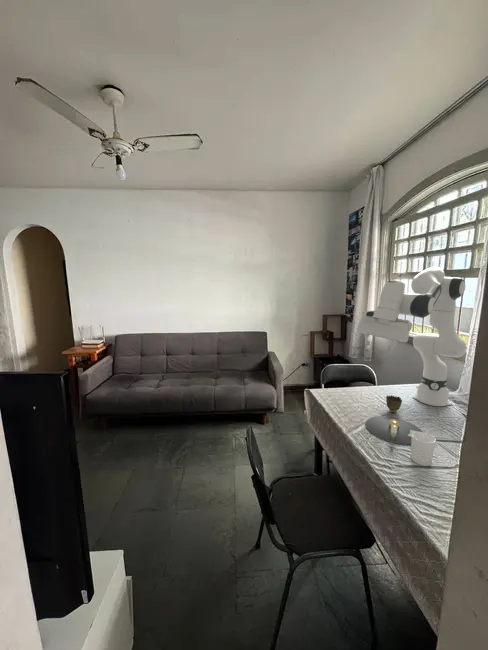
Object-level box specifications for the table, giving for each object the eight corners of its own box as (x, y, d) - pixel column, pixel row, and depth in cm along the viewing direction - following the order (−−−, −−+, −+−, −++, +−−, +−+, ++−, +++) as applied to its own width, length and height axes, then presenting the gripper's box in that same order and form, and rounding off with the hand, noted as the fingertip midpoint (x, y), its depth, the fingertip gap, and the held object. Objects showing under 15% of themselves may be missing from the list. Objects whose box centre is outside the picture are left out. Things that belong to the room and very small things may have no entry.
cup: (402, 416, 145) (404, 401, 144) (387, 414, 147) (388, 400, 145) (398, 409, 152) (399, 395, 151) (383, 408, 154) (384, 394, 152)
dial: (368, 413, 148) (368, 411, 148) (422, 424, 136) (422, 423, 136) (362, 435, 127) (363, 433, 127) (425, 451, 116) (425, 448, 115)
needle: (388, 424, 134) (389, 412, 134) (399, 426, 132) (400, 414, 131) (387, 439, 122) (388, 426, 121) (398, 441, 120) (400, 428, 119)
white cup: (407, 452, 115) (410, 429, 113) (430, 457, 112) (433, 434, 110) (410, 464, 108) (413, 440, 106) (435, 469, 105) (438, 444, 103)
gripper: (414, 322, 117) (406, 354, 117) (365, 314, 131) (357, 342, 131) (411, 319, 112) (403, 353, 113) (360, 311, 126) (352, 341, 126)
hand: (378, 347), depth 122 cm, fingers open, 8 cm apart
